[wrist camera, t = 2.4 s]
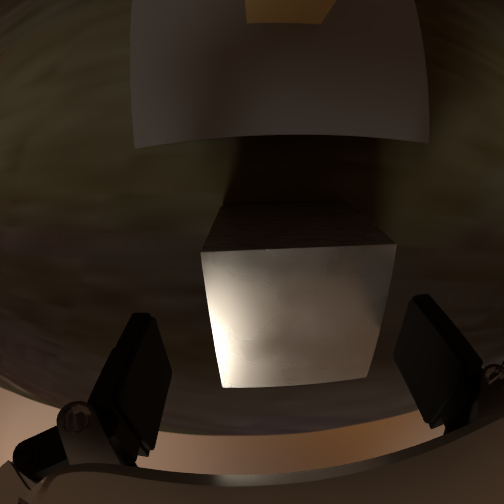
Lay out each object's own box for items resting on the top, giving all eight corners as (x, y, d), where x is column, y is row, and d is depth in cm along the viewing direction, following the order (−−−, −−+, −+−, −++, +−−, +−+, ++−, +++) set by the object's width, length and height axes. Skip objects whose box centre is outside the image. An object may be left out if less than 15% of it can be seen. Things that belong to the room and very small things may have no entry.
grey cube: (339, 307, 17) (366, 376, 12) (231, 313, 18) (222, 387, 12) (348, 202, 15) (396, 244, 9) (220, 206, 15) (200, 252, 9)
